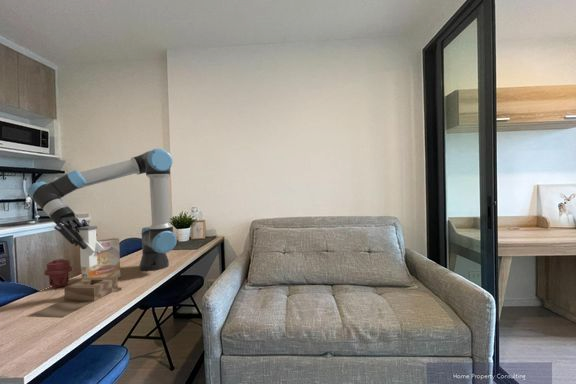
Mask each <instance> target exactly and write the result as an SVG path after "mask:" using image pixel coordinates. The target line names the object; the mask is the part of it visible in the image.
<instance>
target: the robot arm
mask: <svg viewBox="0 0 576 384" xmlns="http://www.w3.org/2000/svg"><path fill="white" fill-rule="evenodd" d="M172 166H173V157H172V155H171V153H170V152H168V151H167V149H162V148H153V149H152V150H148V151H146V152H143V153H141V154H139V155H137V156H132V157H131V158H130V159H129V160H123V161H120V162H116V163H111V164H109V165H108V164H107V165H103V166H98V167H95V168H91V169H87V170H84V171H78V170H74V169H73V170H72V171H70V172H68V173H65V174H63V175H62V176H59V177H58V178H56V179H55V180H53V181H51V182H48V183H47V182H46V181H39V182H33V183H32V184H31V185H30V186H29V187H28V188H27V194H28V196H29V197H30V198H31V199H32V200H33V202H34V203H36V205H38V207H39V208H41V210H42V211H43V212H44V213H45V214H46V215H47V216H48V217H49V218H50V220H51V221H53V223H54V224H55V226H54V228H53V229H54V230H56V231H57V232H59V233H60V234H61V235H62V236H63V237H64V238H65V239H66V240H67V241H68V242H69V243H70V244H71V245H74V246H75V247H77V246H79V248H80V247H81V248H82V249H84V250H85V251H86V252H87V254H88V255H89V256H91V255H92V254H93V253H94V252H95V250H94V249H93V248H92V247H91V246H90V245H89V244H88V243H87V241H86V240H83V241H82V238H81V237H80V233H79V230H78V228H80V227H86V226H90V225H89V224H88V222H87V220H86V219H82V220H81V219H79V218H77V217H76V215H75V214H76V213H75V211H73V209H72V208H70V207H69V205H68V204H67V203H66V202H65V201H64V200H63V199H62V198H64V197H65V196H66V195H69V194H71V193H72V192H74V191H77V190H80V189H82V188H86V187H90V186H94V185H98V184H101V183H102V184H103V183H106V182H109V181H112V180H116V179H120V178H124V177H127V176H131V175H134V174H135V175H137V176H138V175H142V174H145V176H146V177H147V178H148V179H149V196H150V211H151V212H150V213H151V224H150V226H146V227H142V228H141V245H142V246H141V247H142V248H141V249H142V255H141V257H140V262H139V265H138V267H139V271H148V272H149V271H156V270H162V269H165V268H168V267H169V265H170V261H169V259H168V258H169V257H168V256H167V254H168V253H169V252H171V251H172V250H173V249H174V248H175V247H176V245H177V241H178V239H177V236H176V235H175V233H174V227H173V226H174V225H172V223H171V222H170V207H169V205H170V204H169V203H170V201H169V186H168V185H169V184H168V177H170V176H171V167H172ZM96 237H98V234H97V233H96ZM97 240H98V239H96V243H97V252H98V253H101V251H102V250H103V249H104V248H103V247H102V246H101V244H100V243H99V242H98V241H97Z"/></svg>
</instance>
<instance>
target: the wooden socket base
mask: <svg viewBox="0 0 576 384" xmlns="http://www.w3.org/2000/svg"><path fill="white" fill-rule="evenodd" d="M118 280H119V277H89V278H87V279H84V280H82V279H81V280H79V281H77V282H74V283H71V284H70V285H69V284H68V285H67V286H63V287H64V289H63V290H64V292H63V293H64V299H63V300H60V301H58V302H56V303H54V304H51V305H48V306H47V307H45V308H42V309H40V310H38V311H35V312H33V313H31V314H28V315H26V317H28V318H29V317H30V318H31V317H32V318H54V319H55V318H57V319H58V318H59V319H61V318H62V319H63V318H64V317H67V316H68V315H70V314H73V313H74V312H76V311H78V310H80V309H82V308H84V307H86V306H88V305H90V304H93V303H94V302H96V301H98V300H100V299H102V298H104V297H106V296H108V295H109V294H111V293H118V292H120V291H122V289H123V288H122V287H119V281H118Z"/></svg>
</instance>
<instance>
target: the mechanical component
mask: <svg viewBox="0 0 576 384" xmlns="http://www.w3.org/2000/svg"><path fill="white" fill-rule="evenodd" d="M70 264H71V263H70V259H63V258H58V259H54V260H52V261H50V262H48V263H46V269H45V270H44V276H48V279H49V284H48V285H49V286H51V289H53V290H54V288H55V289H57V288H58V289H59V288H62V286H63V287H66V286H69V282H70V279H69V273H70V272H72V271H73V267H72V265H70Z"/></svg>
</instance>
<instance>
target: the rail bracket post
mask: <svg viewBox="0 0 576 384" xmlns="http://www.w3.org/2000/svg"><path fill="white" fill-rule="evenodd" d="M97 229H98V226H97V225H94V226H93V225H92V226H90V225H89V226H86V227H80V228H78V230H79V232H78V234H79V235H80V237H81V238H82V241H83V240H86V241H87V243H88V244H89V245H90V246H91V247H92V248H93V249H94V250H95V252H94V253H93V254H92V255H91V256H89V255H88V254H87V252H86V251H85V250H84V249H82V248H81V247H80V246H79V254H80V255H79V257H80V260H79V261H80V268H81V267H91V266H94V265H97V243H96V240H97V236H96V234H97Z"/></svg>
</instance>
